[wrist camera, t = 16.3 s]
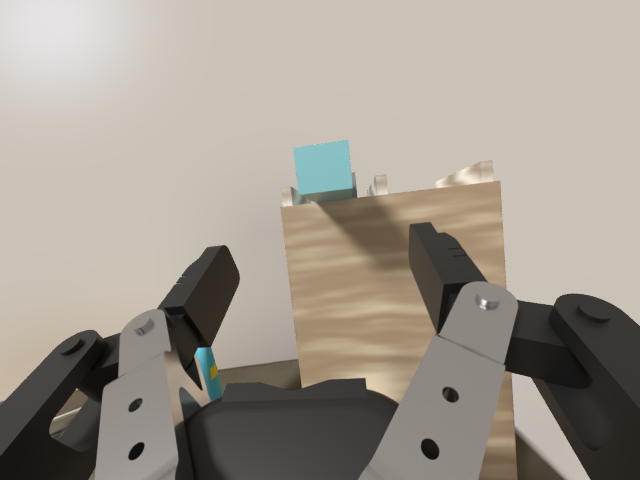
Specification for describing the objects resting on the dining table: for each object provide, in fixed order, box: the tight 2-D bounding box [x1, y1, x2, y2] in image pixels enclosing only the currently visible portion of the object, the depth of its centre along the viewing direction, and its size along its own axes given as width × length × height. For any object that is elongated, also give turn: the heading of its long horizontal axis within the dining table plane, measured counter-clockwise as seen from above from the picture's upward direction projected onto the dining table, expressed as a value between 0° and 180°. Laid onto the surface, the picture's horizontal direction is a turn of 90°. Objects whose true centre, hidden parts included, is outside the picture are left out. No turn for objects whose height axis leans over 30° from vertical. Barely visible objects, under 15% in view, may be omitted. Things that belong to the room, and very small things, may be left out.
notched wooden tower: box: [281, 160, 518, 480], centre depth 31 cm, size 14×20×34 cm
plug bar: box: [294, 140, 357, 203], centre depth 26 cm, size 21×5×4 cm, turn 173°
